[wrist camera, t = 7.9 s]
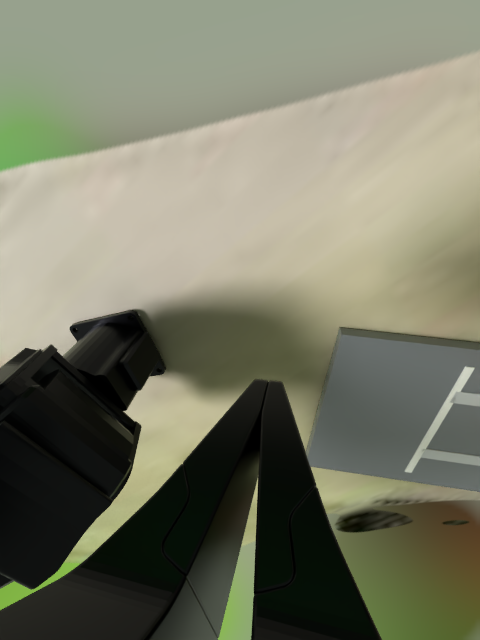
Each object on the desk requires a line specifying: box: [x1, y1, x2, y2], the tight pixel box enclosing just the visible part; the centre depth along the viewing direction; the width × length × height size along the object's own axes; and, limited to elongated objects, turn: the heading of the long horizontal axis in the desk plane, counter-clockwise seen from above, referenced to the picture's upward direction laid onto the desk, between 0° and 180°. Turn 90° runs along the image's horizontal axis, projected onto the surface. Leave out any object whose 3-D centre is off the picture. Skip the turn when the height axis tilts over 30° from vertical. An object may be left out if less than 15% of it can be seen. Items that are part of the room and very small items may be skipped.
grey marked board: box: [306, 328, 480, 492], centre depth 25 cm, size 24×16×1 cm, turn 87°
